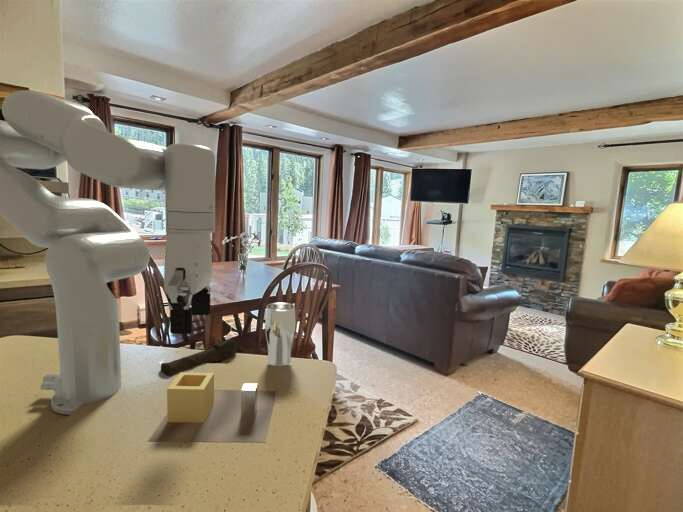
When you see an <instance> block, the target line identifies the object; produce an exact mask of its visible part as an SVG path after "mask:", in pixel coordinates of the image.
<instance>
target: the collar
mask: <svg viewBox="0 0 683 512" xmlns="http://www.w3.org/2000/svg"><path fill="white" fill-rule="evenodd" d="M214 390H215V372H186V371H184V372H183V371H180V372H178V374H177V376H176V377H175V378H174V379H173V381H172V382H171V383H170V385H169V386H168V387H167V388H166V401H167V403H166V404H167V405H166V406H167V408H166V409H167V410H166V411H167V414H166V415H167V417H168V422H201V423H204V421H205V420H206V418H207V416H208V414H209V412H210V410H211V408H212V406H213V404H214Z"/></svg>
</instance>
